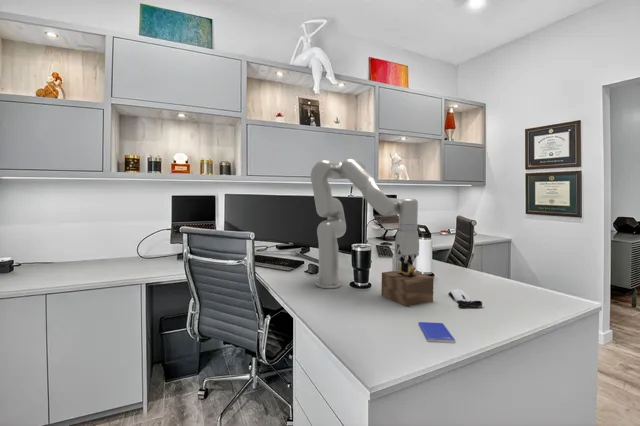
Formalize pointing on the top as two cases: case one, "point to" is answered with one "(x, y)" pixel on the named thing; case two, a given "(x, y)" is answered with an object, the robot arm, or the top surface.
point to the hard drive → (436, 332)
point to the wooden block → (409, 271)
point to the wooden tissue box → (407, 287)
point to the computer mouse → (463, 299)
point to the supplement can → (396, 263)
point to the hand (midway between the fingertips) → (406, 271)
